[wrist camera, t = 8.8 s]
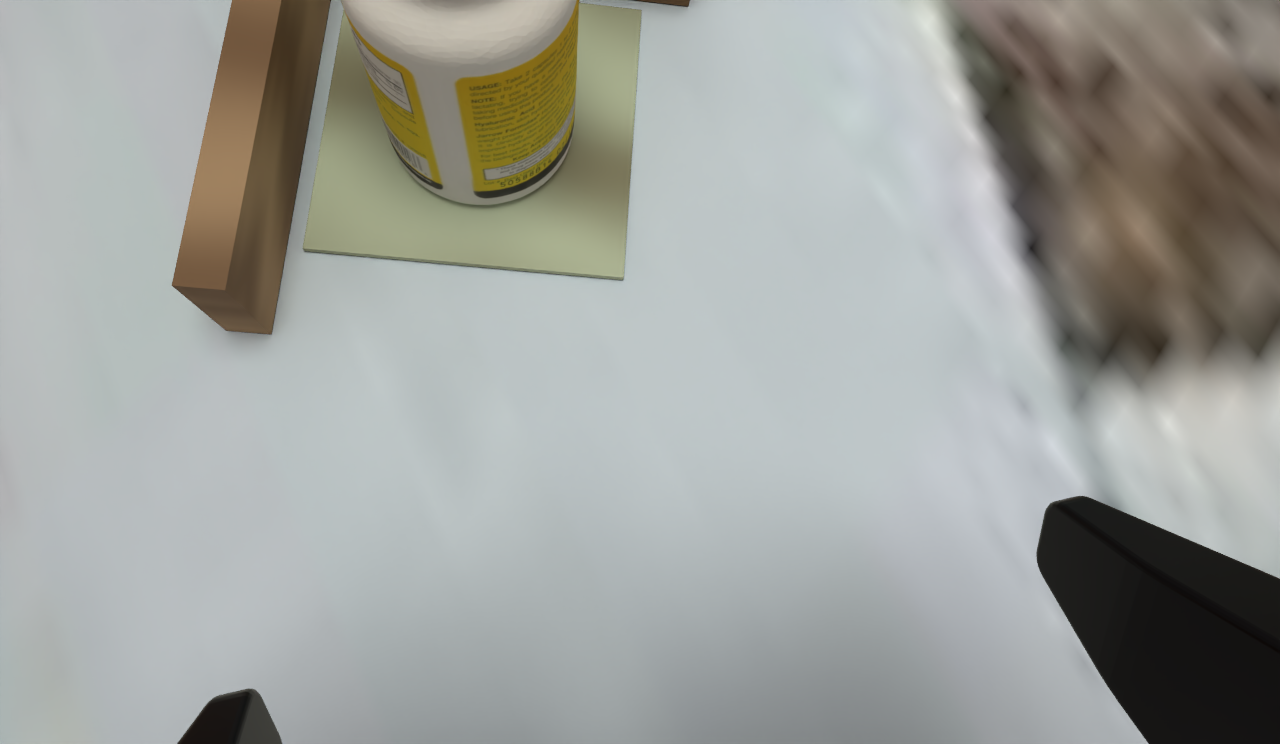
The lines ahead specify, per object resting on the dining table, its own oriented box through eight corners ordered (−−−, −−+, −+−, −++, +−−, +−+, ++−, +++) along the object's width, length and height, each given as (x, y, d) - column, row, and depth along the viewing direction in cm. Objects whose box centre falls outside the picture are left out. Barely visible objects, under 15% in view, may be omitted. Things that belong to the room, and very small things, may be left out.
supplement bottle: (592, 72, 26) (616, -220, 17) (549, 230, 25) (548, 7, 16) (419, 27, 26) (346, -294, 17) (364, 184, 25) (251, -72, 15)
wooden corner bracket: (669, 367, 24) (689, 330, 21) (157, 324, 23) (91, 278, 20) (689, -26, 28) (708, -111, 25) (243, -80, 27) (199, -177, 23)
